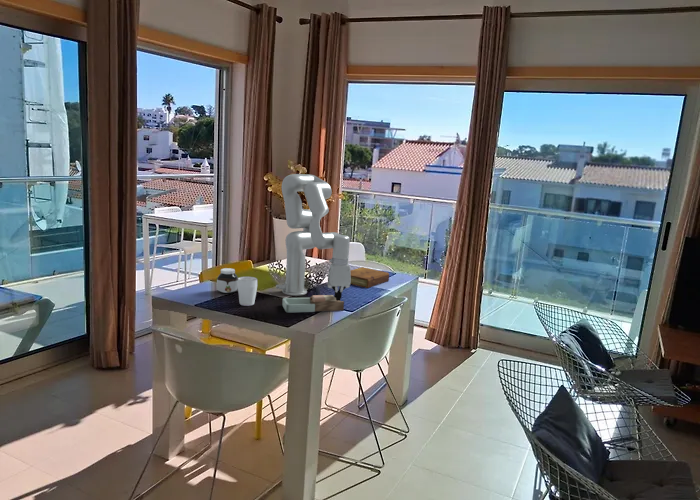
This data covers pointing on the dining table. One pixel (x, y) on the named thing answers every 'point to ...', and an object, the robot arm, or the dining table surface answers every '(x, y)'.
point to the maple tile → (329, 298)
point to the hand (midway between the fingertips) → (337, 299)
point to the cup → (247, 290)
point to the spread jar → (227, 281)
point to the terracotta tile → (318, 298)
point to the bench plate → (328, 305)
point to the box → (298, 305)
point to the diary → (368, 277)
